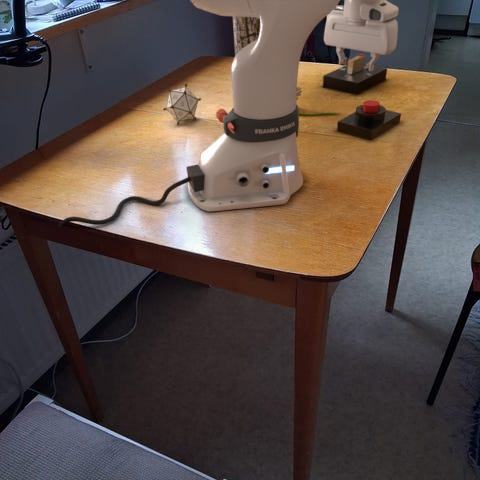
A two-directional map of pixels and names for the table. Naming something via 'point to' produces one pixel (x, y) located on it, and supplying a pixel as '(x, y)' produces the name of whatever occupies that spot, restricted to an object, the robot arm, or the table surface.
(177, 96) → the game die
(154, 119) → the table surface
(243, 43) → the bark textured post
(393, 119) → the button block
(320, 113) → the decorative flower
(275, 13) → the robot arm
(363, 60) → the beige rectangular block
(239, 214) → the table surface
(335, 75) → the panel
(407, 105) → the table surface
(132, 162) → the table surface
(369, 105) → the button
